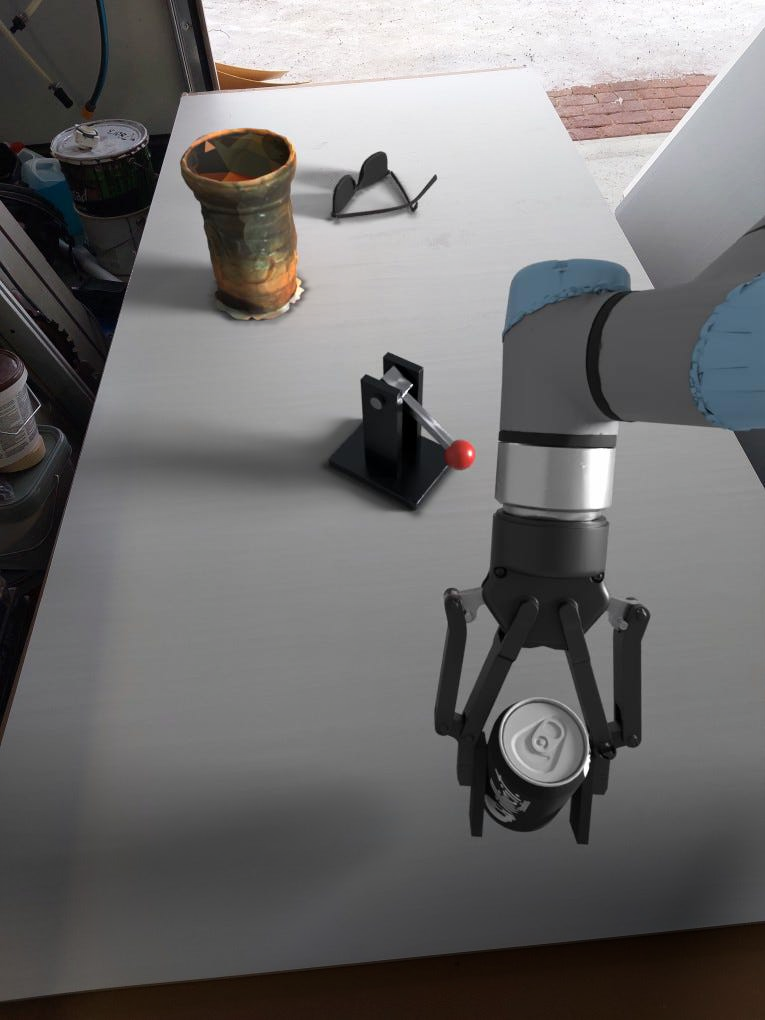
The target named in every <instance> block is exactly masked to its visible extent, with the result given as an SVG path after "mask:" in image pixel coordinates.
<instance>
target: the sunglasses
mask: <svg viewBox="0 0 765 1020" xmlns="http://www.w3.org/2000/svg"><path fill="white" fill-rule="evenodd" d="M388 164H389V160H388V154H387V153H386V152H384V151H383V150H380V151H376V152H374V153H372V154H371V155H369V156H368V157H366V158H365V160H364V161H363V162H362V164H361V166H360V170H359V174H358V178H357V181H356V179H355V178H354V177H353V176H352V175H351V174H344V175H343V176H341V178H340V179H339V180H338V181H337V183H336V184H335V186H334V189H333V192H332V200H331V201H332V208H331V213H330V217H331V218H333V219H336V220H338V219H348V218H350V219H351V218H357V217H358V218H359V217H365V216H372V215H379V214H385V213H390V212H391V213H392V212H395V211H396V212H397V211H401V210H403V209H406V208H409V209H410V211H411V212H412V213H415V212H416V211H417V209H418V207H419V200H420V199H421V198H422V197H423V196H424V195H425V194H426V193H427V192H428V190H429V189H431V187H432V186H433V185H434V184H435V183H436V182H437V180H438V175H437V174H433V176H432V177H431V178H430V180H429V181H428V182H427V184H426V185H425V186H424V187H423V188H422V189H421V191H420V192H419V193H418V194H417V195H416V196H415V197H414V199H412V200H410V197H409V196H408V194H407V192H406V190H405V188H404V186H403V184H402V183H401V182H400V180H399V178H398V177H397V176H396V174H395V173H394V171H393V170H390V169H389V168H388V167H389V166H388ZM388 175H390V176H391V177H392V178H393V180H394V182H395V184H397V186H398V187H399V189H400V191H401V193H402V195H403V196H404V198H405V200H406V202H407V203H404V204H400V205H397V206H393V207H386V208H379V209H373V210H365V211H364V210H363V211H356V212H347V213H341V212H342V211H343V210H344V209H345V207H347V205H348V203H349V202H350V201H351V199H353V197H354V196H355V195H356V193H357V192H359V191H361V190H364V189H367V188H369V187H371V186H373V185H374V184H376V183H378V182H380V181H381V180H383V179H384V178H385V177H387V176H388ZM413 205H414V206H413Z"/></svg>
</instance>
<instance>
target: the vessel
mask: <svg viewBox="0 0 765 1020" xmlns="http://www.w3.org/2000/svg"><path fill="white" fill-rule="evenodd" d="M179 165H180V166H179V167H180V174H181V177H182V179H183V181H184V183H185V185H186V186H187V187H188V188H189V189H190V190H191V192H192V194H193V197H194V199H196V201H197V202H199V205H200V214H201V216H202V220H203V230H204V234H205V237H206V241H207V248H208V251H209V260H210V263H211V264H210V265H211V267H212V271H213V274H214V279H215V281H216V285H217V287H216V289H217V290H216V291H214V292H213V295H214V302H215V303H216V306H217V309H218V310H221V311H225V312H226V313H227V314H228V315H230V316H231V317H232V318H234V319H236V320H245V321H249V320H250V319H251V318H253V319H255V320H256V321H260V320H262V319H266V320H274V319H276V318H277V317H279V316H281V315H282V314H284V313H286V312H287V311H289V309H290V303H292V304H296V301H297V300H300V299H301V294H302V293H303V292H304V291H305V289H304V288H303V287H301V285H302V280H301V279H299V278H298V277H297V275H298V273H297V266H298V263H299V255H298V251H297V250H298V249H297V248H298V247H297V246H298V234H297V229H296V224H295V219H294V215H293V202H292V198H291V194H292V193H291V191H292V182H293V180H294V178H295V175H296V171H297V165H298V160H297V152H296V148H295V146H294V144H293V143H292V142H291V141H290V139H289V138H287V137H286V136H284V135H281V134H278V133H276V132H274V131H272V130H269V129H267V128H256V127H255V128H254V127H240V128H239V127H238V128H232V129H228V128H227V129H223V130H222V129H221V130H217V131H213V132H209V133H206V134H203V135H200V136H199V137H198V138H197V139H195V140H194V141H193V142H192V143H191V145H190V146H189V147H188V148H187V149H186V150H185V152H184V153H183V155H182V156H181V158H180V160H179Z"/></svg>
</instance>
